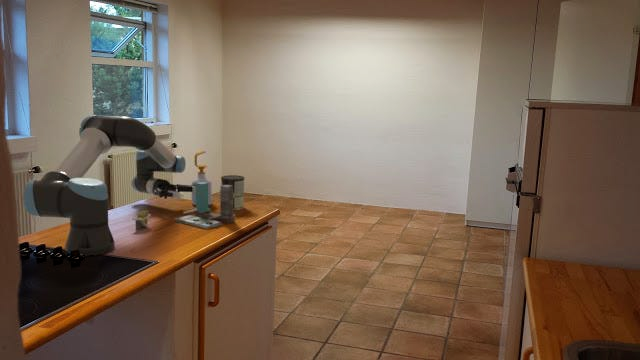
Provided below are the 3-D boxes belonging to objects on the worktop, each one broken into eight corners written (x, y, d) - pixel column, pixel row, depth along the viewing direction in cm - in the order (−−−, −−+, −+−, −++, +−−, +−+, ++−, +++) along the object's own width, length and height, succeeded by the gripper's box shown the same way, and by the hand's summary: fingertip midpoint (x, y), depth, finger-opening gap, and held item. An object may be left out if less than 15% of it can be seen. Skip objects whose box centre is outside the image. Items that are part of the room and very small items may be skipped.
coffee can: (222, 210, 250) (222, 179, 248) (219, 205, 260) (219, 175, 257) (246, 209, 253) (246, 178, 251) (242, 205, 263) (242, 175, 260)
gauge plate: (207, 229, 218) (207, 225, 217) (174, 221, 229) (174, 217, 228) (222, 225, 224) (222, 222, 224) (189, 217, 235) (189, 214, 235)
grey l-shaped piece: (213, 227, 220) (213, 189, 218) (180, 219, 231) (180, 183, 229) (235, 222, 230) (235, 185, 228) (203, 214, 241) (203, 180, 239)
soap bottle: (213, 205, 260) (213, 152, 256) (193, 206, 257) (193, 152, 253) (209, 201, 268) (209, 149, 264) (190, 202, 265) (189, 150, 261)
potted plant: (166, 224, 225) (166, 208, 224) (147, 235, 208) (147, 218, 207) (138, 222, 227) (137, 206, 226) (116, 233, 209) (116, 216, 208)
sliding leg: (188, 216, 228) (187, 186, 226) (179, 214, 231) (179, 185, 229) (210, 211, 238) (210, 183, 236) (202, 209, 241) (202, 181, 239)
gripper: (180, 191, 264) (212, 198, 252) (135, 199, 244) (167, 206, 232) (180, 175, 263) (212, 181, 250) (135, 182, 243) (167, 188, 230)
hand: (191, 193), depth 241 cm, fingers open, 13 cm apart
